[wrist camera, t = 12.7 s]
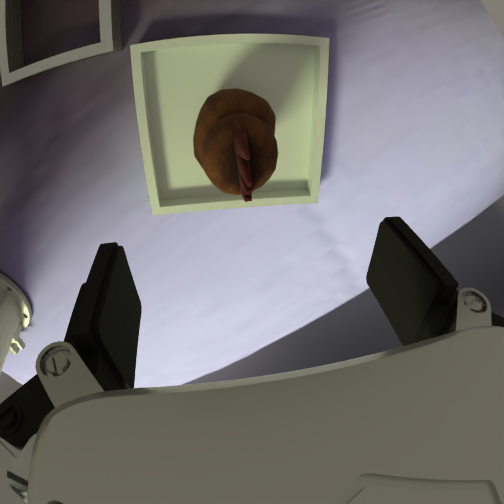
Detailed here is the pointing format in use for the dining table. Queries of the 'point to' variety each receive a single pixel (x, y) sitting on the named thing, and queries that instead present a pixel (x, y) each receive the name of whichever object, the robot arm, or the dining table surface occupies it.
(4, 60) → the white square bin
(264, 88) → the sage tray
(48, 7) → the dining table surface
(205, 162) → the brown lumpy elongated piece
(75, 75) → the dining table surface
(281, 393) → the robot arm
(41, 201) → the dining table surface
